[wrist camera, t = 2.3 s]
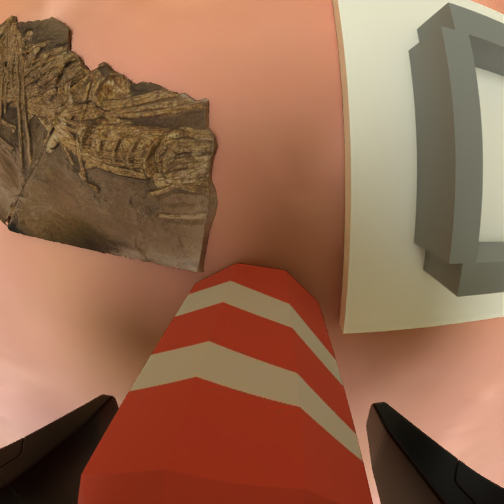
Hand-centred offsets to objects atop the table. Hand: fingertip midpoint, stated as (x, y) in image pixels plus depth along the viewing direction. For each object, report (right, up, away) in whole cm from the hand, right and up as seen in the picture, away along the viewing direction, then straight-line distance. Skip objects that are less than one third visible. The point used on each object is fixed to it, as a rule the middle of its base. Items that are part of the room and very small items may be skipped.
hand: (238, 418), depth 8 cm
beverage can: (0, +2, +6) cm, 6 cm away
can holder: (+12, +9, +3) cm, 16 cm away
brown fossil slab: (-12, +12, +4) cm, 18 cm away
